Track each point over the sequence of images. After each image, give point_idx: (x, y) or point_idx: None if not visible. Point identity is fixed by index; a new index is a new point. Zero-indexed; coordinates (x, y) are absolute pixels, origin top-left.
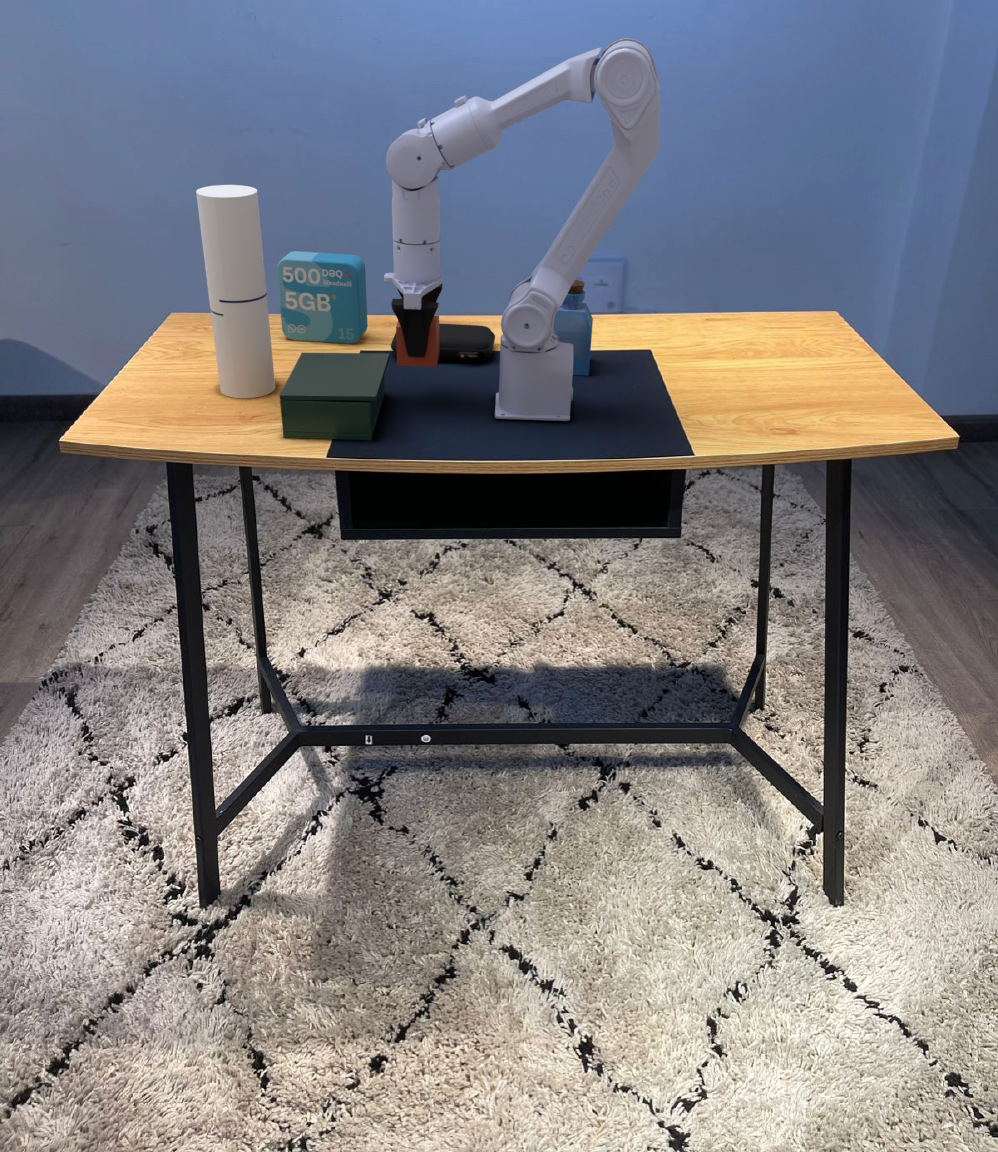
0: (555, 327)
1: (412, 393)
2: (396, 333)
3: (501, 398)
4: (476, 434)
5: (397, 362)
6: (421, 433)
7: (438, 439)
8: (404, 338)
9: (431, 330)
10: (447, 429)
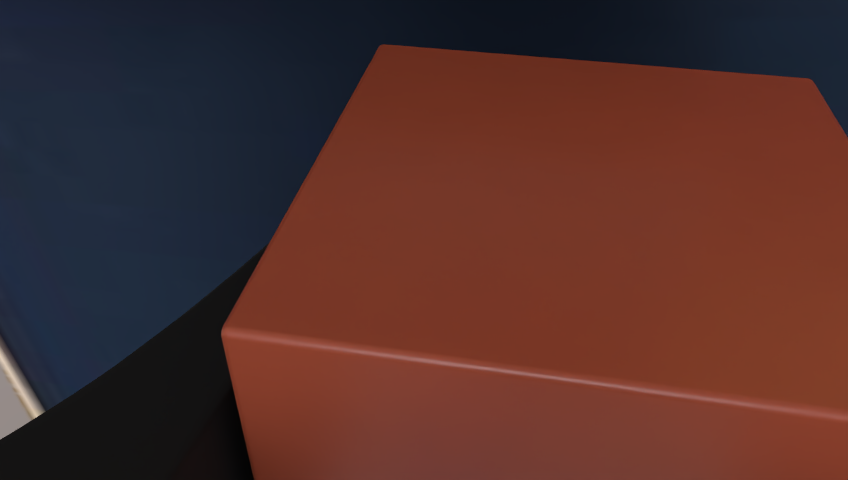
0: None
1: (719, 15)
2: (263, 256)
3: None
4: (182, 290)
5: (375, 59)
6: (114, 69)
7: (77, 146)
8: (183, 318)
9: None
10: (199, 189)
